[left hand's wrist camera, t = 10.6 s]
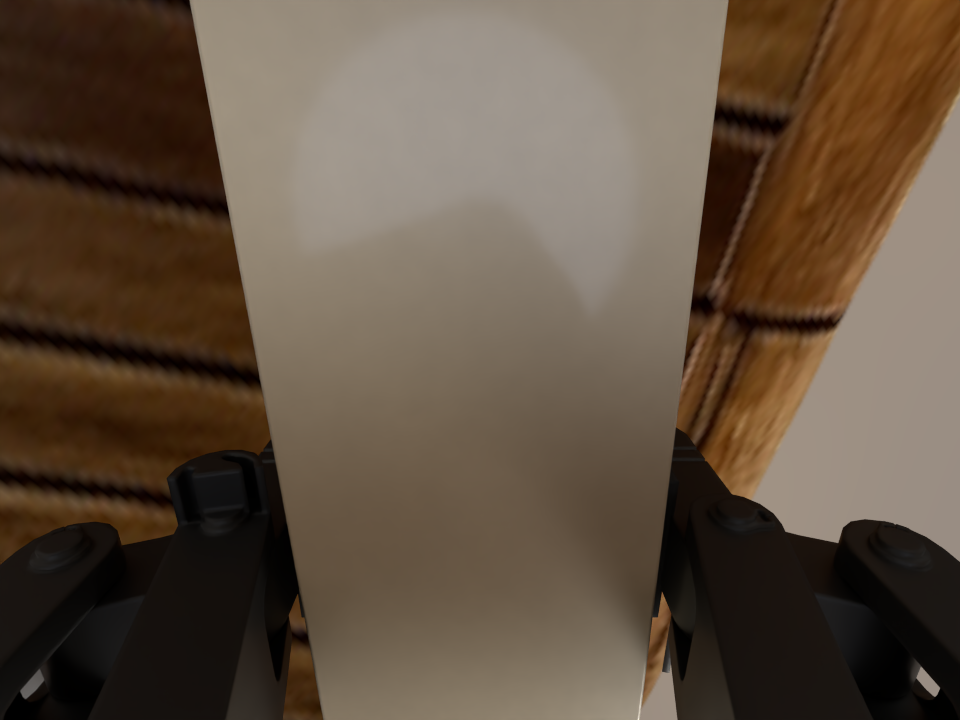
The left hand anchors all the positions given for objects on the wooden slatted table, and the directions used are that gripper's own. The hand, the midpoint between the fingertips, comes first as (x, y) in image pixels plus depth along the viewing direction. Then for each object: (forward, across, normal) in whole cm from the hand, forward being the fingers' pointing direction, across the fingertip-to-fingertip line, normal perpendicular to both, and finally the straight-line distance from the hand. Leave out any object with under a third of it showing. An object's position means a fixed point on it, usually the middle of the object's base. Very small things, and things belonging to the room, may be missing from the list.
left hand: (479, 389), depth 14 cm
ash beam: (0, 0, -10) cm, 10 cm away
